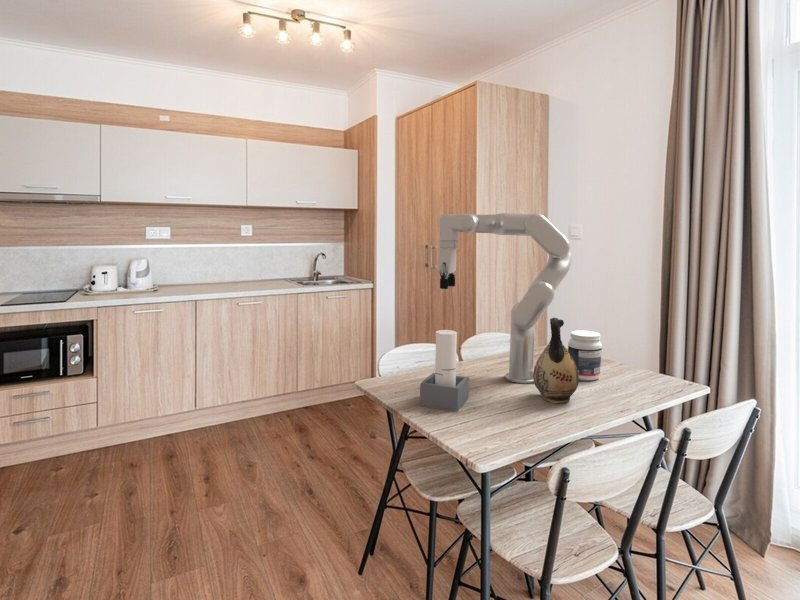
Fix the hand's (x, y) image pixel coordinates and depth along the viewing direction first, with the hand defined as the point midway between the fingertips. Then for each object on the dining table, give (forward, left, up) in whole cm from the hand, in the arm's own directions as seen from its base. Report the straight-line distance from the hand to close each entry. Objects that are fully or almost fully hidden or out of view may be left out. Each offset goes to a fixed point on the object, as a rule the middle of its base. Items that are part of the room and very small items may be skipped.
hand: (447, 287), depth 200 cm
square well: (-10, +33, -36) cm, 50 cm away
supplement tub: (-53, -18, -36) cm, 67 cm away
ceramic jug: (-45, +15, -36) cm, 60 cm away
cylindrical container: (-10, +33, -36) cm, 50 cm away
